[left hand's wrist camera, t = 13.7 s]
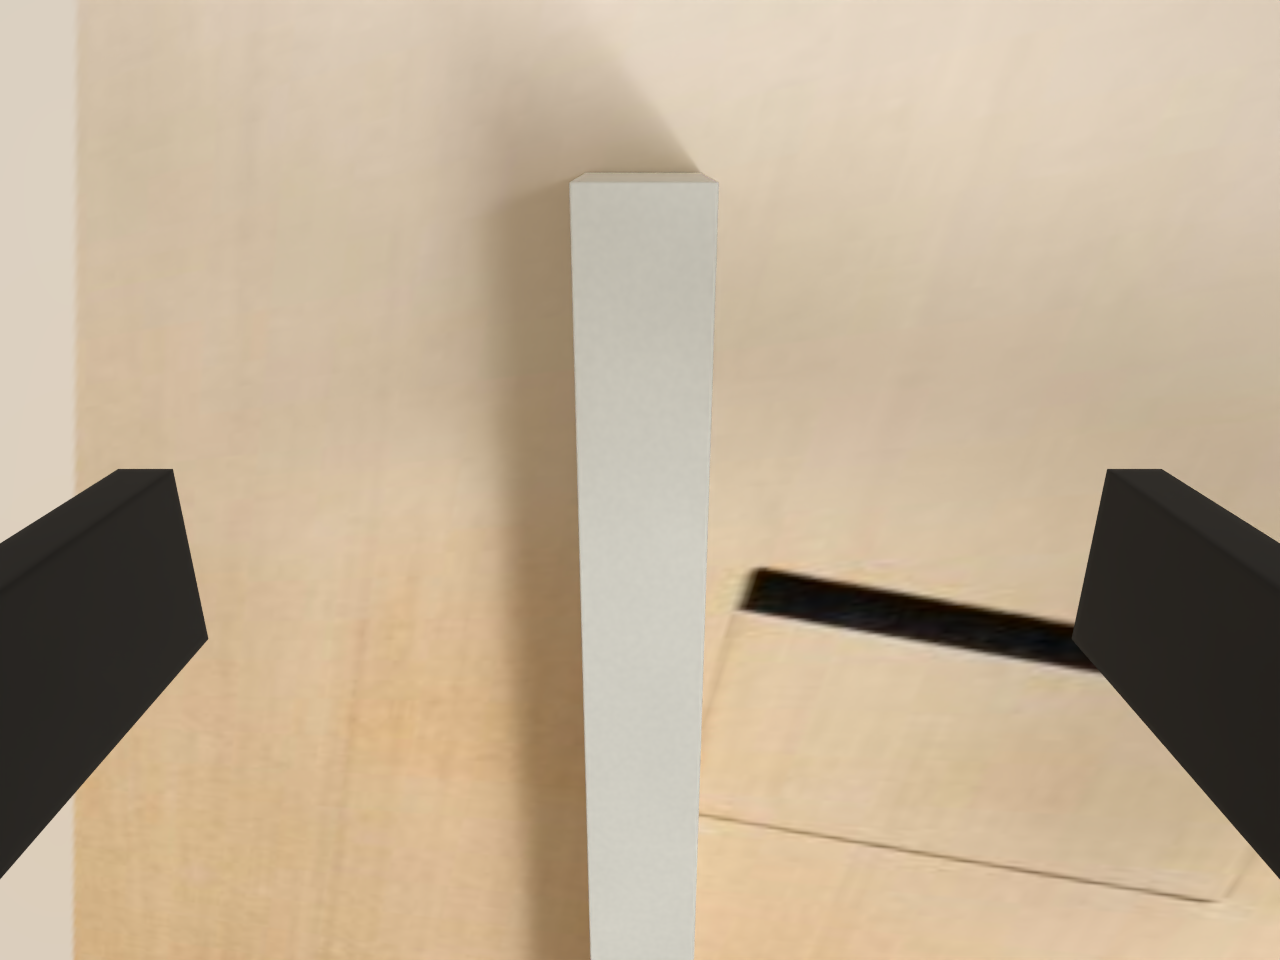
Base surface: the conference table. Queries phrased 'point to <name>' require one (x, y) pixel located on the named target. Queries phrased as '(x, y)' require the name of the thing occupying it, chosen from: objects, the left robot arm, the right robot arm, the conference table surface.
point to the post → (643, 542)
